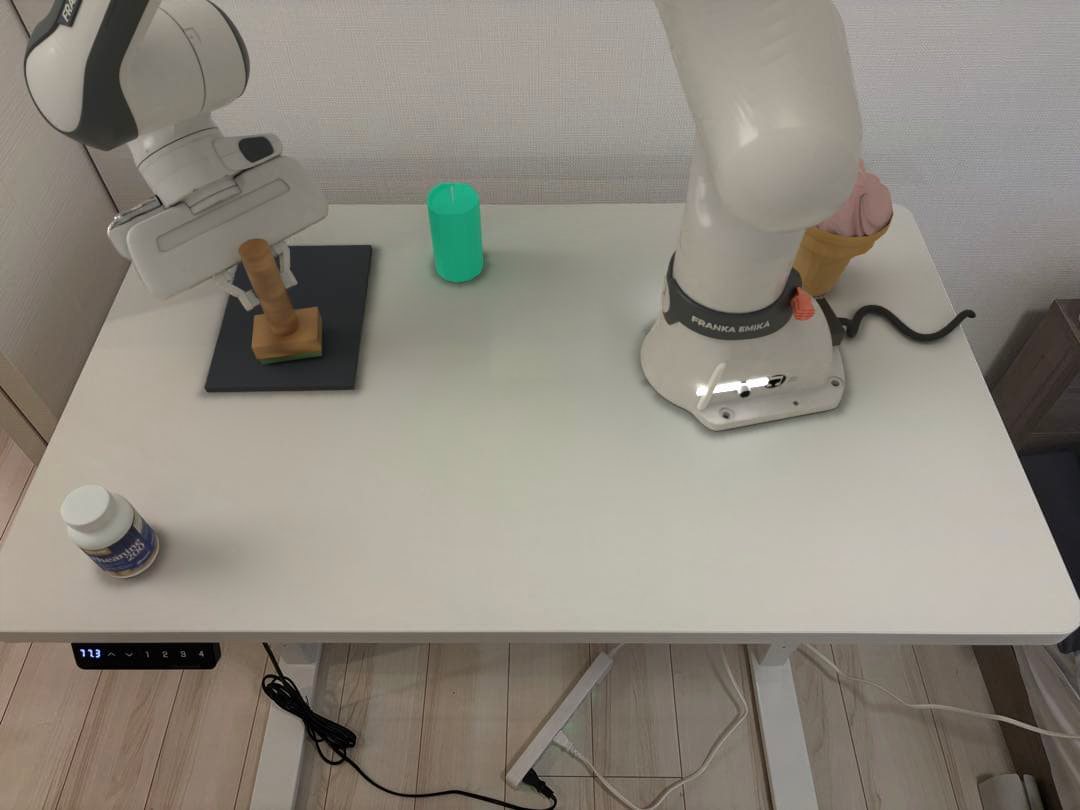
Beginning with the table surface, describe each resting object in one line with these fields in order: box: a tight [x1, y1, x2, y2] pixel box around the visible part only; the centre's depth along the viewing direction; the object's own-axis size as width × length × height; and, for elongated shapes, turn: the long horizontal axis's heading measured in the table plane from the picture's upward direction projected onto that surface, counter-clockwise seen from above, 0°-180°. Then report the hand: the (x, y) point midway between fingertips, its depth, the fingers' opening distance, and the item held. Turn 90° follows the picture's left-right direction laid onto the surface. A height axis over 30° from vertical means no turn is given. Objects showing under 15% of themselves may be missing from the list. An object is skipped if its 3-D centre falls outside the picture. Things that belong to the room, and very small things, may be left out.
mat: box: [204, 244, 373, 393], centre depth 93 cm, size 16×22×1 cm
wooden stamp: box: [238, 238, 322, 364], centre depth 84 cm, size 7×5×14 cm
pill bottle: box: [60, 484, 160, 579], centre depth 71 cm, size 5×5×10 cm
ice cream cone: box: [793, 157, 894, 297], centre depth 89 cm, size 11×11×20 cm
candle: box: [426, 182, 485, 283], centre depth 93 cm, size 6×6×12 cm
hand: (273, 297), depth 84 cm, fingers closed on wooden stamp, 3 cm apart
